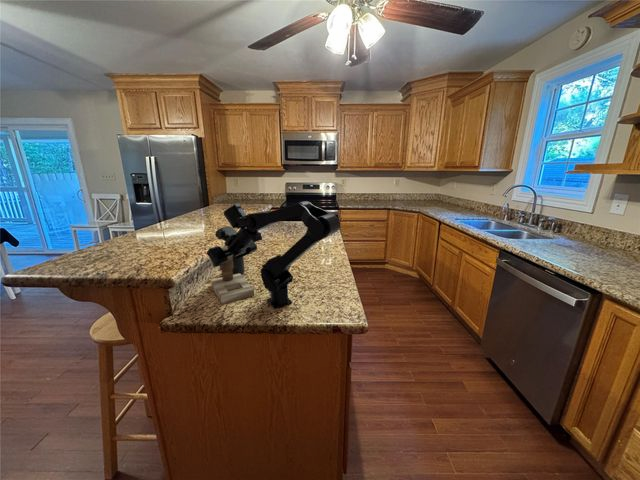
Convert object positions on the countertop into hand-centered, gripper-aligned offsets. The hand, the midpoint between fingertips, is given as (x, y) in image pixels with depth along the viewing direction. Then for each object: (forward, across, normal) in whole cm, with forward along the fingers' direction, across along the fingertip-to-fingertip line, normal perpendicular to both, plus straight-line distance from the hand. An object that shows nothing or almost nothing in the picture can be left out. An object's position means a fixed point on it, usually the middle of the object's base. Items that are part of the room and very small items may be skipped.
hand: (223, 262), depth 94 cm
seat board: (+2, +2, +10) cm, 11 cm away
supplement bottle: (+10, -10, +3) cm, 15 cm away
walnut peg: (+4, 0, +6) cm, 7 cm away
